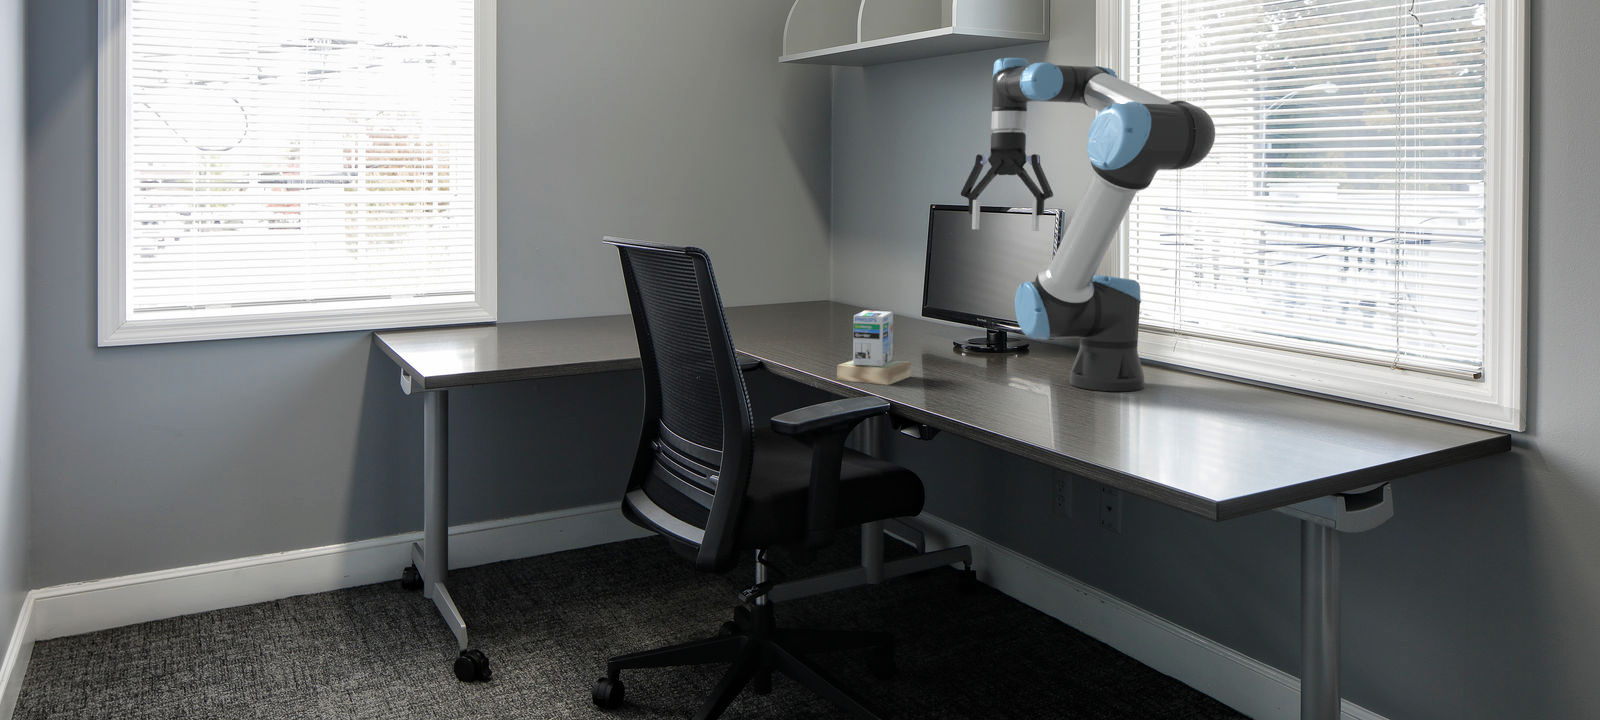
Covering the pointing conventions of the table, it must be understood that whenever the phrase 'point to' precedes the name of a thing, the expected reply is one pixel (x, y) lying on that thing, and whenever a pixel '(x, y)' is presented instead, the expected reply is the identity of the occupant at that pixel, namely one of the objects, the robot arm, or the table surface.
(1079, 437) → the table surface
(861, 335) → the light bulb box
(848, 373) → the block
